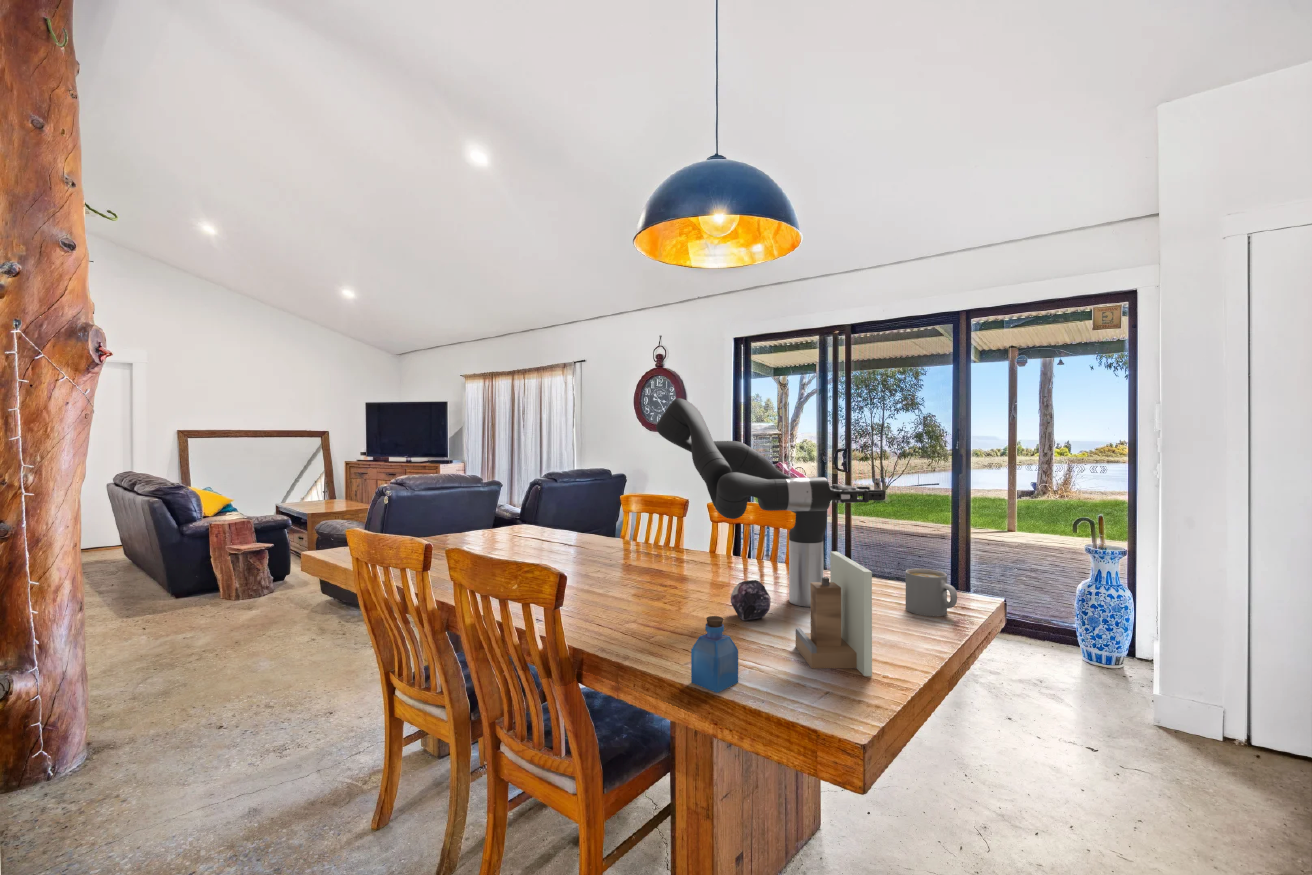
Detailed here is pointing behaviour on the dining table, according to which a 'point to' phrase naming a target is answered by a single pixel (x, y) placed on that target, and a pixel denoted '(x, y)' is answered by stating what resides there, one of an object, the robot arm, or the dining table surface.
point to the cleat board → (846, 621)
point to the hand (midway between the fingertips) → (876, 492)
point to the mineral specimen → (750, 600)
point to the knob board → (825, 613)
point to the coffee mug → (928, 592)
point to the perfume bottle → (714, 658)
